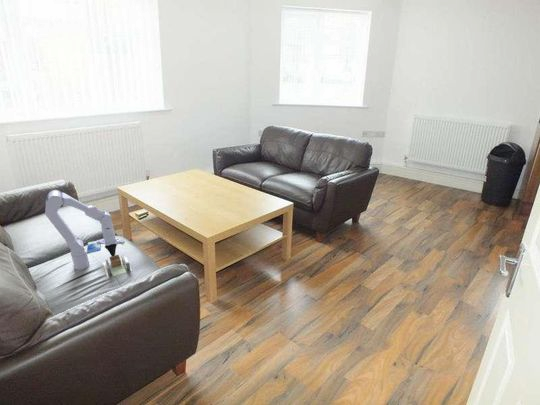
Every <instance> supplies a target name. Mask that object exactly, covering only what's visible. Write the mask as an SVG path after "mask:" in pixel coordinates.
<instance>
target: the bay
mask: <svg viewBox="0 0 540 405" xmlns="http://www.w3.org/2000/svg"><path fill="white" fill-rule="evenodd" d="M120 260H121V266H117V267H114V268H113V267H112V264H111V261H110V260H108V258H107V259H105V261H104V262H103V263H102V264H103V267H104V268H103V269H104V271H105V274H106V277H107V279H108V278H111V277H114V276H119V275H122V274H125V273H128V272H132V271H133V270H132V268H131V264H130V262H129V260H128V258H127V256H124V255H120Z"/></svg>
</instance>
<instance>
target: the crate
mask: <svg viewBox="0 0 540 405" xmlns="http://www.w3.org/2000/svg"><path fill="white" fill-rule="evenodd" d="M120 258H121V256H120V255H119V254H115V256H109V261H111V264H112V267H113V268H114V267H117V266H121V260H120Z"/></svg>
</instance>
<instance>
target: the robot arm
mask: <svg viewBox="0 0 540 405" xmlns="http://www.w3.org/2000/svg"><path fill="white" fill-rule="evenodd" d="M68 206H70V207H72V208H74V209H77V210H79V211H82V212H84V214H85V216H87V217H89V218H91V219H92V220H95V221H97V222H98V221H99V223H100V224H101V231H102V232H101V233H102V236H103V238H102V239H97V240H96V241H97V245H99V244H101V245H104V248H105V249H106V250H107V251H108V252H109V254H110V255H111V256H115V255H116V251H117V250H116V248H117V246H118V245H122V246H123V245H125V239H120V238H117V237H116V234H115V229H114V225H113V218H112V216H111V213H109V212H108V210H102V209H100V208H98V206H96V205H91V204H90V205H86V204H85V203H83V202H81V201H79V200H77V199H76V198H74V197H72V196H70V195H69V194H67V193H65V192H62V191H60V190H59V189H52V190H51V191H49V193H48V194H47V196H46V198H45V208H44V209H45V210H44V214H45V217H47V219H48V220H49V221H50V223H52V225H53V226H54V228H55V229H56V230H57V232H58V233H59V234H60V236H62V238H63V240H64V241H65V242H66V244H67V246H68V247H69V249H70V256H71V259H72V263H73V264H72V265H73V267H74V269H75V270H78V271H80V270H85V269H86V268H88V267H90V260H89V257H88V254H87V249H85V246H84V244H85V243H84V240H83V239H81V238H79V237H78V236H77V234H75V233H74V232H73V230H72V229H71V228H70V227H69V225H68V224H67V223H66V221H65V220H64V219H63V217H62V216H61V214H60V213H59V212H58V211H59V209H60V208H61V207H63V208H64V207H68ZM111 256H110V257H111Z"/></svg>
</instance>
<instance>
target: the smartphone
mask: <svg viewBox="0 0 540 405" xmlns="http://www.w3.org/2000/svg"><path fill="white" fill-rule="evenodd" d="M101 249H102V244H99V245H97V240H92V241H88V242H87V249H86V252H87V255H89V254H93V253H98V252H100V251H102V250H101Z"/></svg>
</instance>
